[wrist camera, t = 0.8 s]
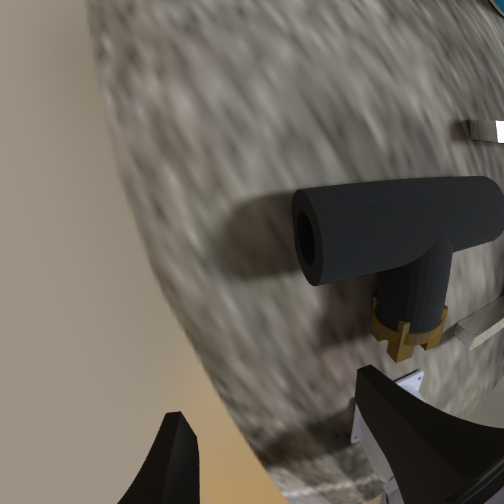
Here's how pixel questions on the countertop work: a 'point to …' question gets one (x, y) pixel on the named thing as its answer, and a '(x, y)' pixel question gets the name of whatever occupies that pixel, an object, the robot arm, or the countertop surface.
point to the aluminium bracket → (500, 310)
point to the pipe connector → (396, 245)
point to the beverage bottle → (498, 5)
